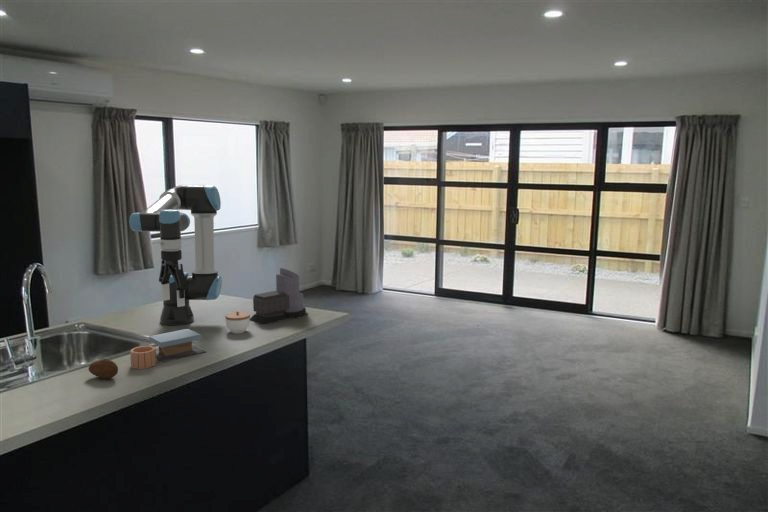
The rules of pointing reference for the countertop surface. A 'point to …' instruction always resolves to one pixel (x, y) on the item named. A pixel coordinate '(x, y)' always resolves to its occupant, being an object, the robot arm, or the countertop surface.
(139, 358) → the bowl
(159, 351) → the stand
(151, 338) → the cover board
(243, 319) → the lidded jar
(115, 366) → the potato
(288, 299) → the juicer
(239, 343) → the countertop surface
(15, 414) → the countertop surface
